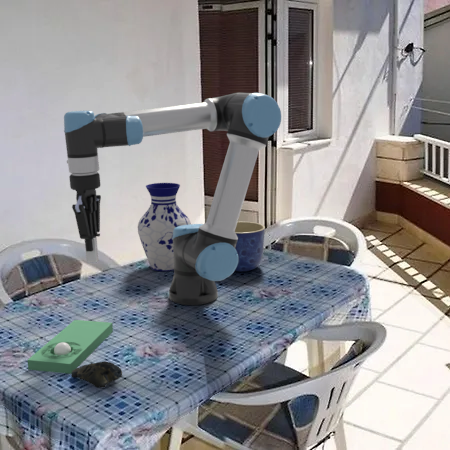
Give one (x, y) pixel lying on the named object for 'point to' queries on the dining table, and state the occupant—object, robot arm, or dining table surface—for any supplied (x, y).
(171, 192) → the vase
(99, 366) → the stone
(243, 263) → the planter
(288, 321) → the dining table surface
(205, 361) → the dining table surface
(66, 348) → the ball
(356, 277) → the dining table surface
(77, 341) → the green rectangular board
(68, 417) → the dining table surface
